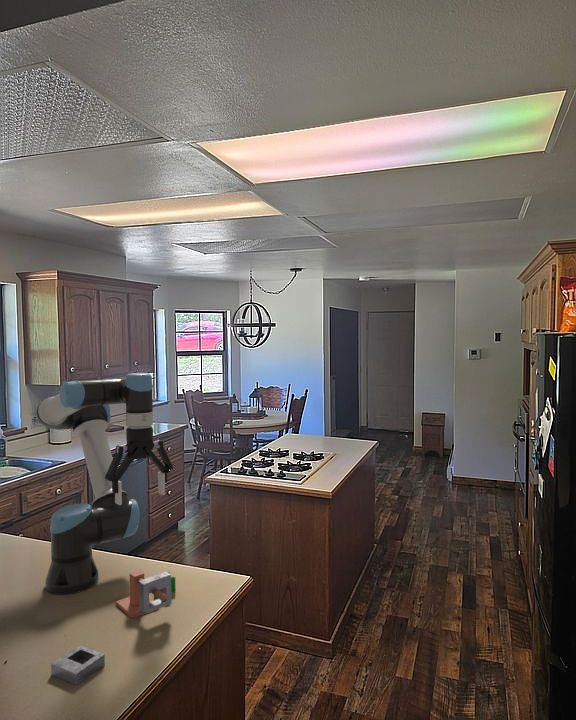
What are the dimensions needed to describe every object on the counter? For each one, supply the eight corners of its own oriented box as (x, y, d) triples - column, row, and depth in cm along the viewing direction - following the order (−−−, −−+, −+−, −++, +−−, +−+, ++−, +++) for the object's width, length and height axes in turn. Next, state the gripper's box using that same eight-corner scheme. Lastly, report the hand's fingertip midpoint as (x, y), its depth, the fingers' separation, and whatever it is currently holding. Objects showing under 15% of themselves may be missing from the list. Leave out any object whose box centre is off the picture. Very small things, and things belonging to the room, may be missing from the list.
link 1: (51, 674, 116) (51, 663, 116) (80, 655, 123) (80, 645, 123) (76, 685, 113) (76, 674, 113) (104, 664, 120) (104, 654, 120)
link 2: (139, 610, 137) (138, 581, 136) (166, 600, 142) (166, 571, 142) (144, 614, 135) (143, 584, 134) (171, 603, 140) (170, 574, 140)
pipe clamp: (166, 605, 147) (166, 590, 147) (153, 605, 147) (153, 589, 147) (178, 586, 158) (178, 572, 158) (166, 586, 159) (166, 571, 158)
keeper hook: (116, 604, 147) (115, 571, 147) (142, 595, 153) (141, 563, 152) (151, 634, 132) (150, 597, 132) (178, 622, 138) (178, 587, 137)
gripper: (103, 433, 140) (104, 511, 140) (183, 423, 157) (184, 492, 157) (92, 430, 145) (93, 505, 146) (171, 420, 162) (171, 487, 163)
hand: (140, 498), depth 152 cm, fingers open, 13 cm apart
